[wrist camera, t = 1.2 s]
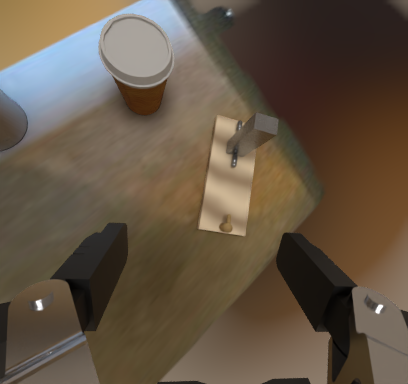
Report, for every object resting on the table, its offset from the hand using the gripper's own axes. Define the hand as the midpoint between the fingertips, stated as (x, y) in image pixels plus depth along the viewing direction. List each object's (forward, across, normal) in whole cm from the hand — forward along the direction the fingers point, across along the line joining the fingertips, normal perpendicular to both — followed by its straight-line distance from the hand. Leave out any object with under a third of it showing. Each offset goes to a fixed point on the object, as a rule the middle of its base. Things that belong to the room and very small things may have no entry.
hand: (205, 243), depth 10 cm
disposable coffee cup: (+32, +10, -9) cm, 35 cm away
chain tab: (+30, -8, -2) cm, 31 cm away
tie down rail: (+28, -7, +4) cm, 30 cm away
